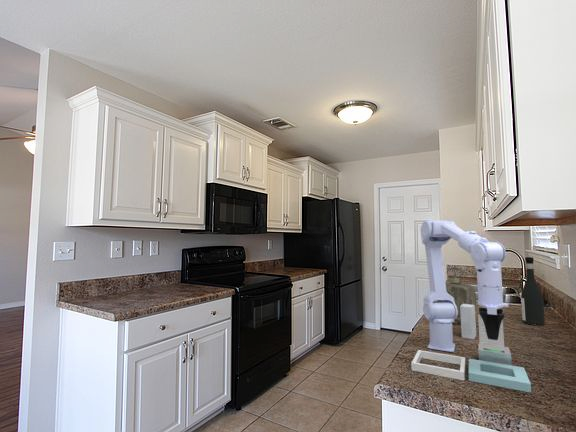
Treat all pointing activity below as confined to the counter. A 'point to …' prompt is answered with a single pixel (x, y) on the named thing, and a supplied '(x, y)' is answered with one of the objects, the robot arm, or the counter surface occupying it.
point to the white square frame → (435, 369)
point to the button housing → (495, 356)
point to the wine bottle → (532, 298)
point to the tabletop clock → (460, 292)
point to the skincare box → (468, 321)
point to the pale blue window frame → (499, 375)
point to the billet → (489, 342)
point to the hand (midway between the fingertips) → (492, 337)
